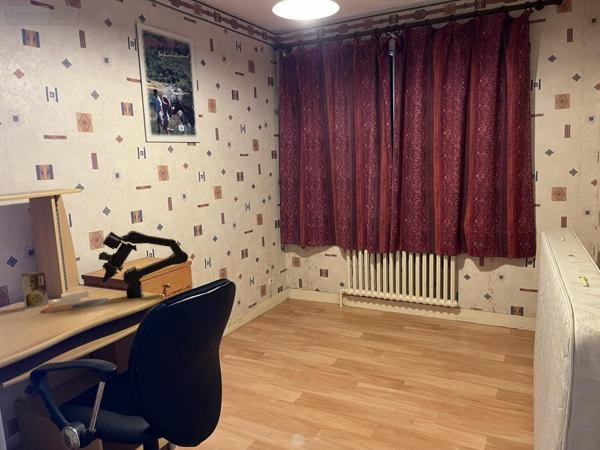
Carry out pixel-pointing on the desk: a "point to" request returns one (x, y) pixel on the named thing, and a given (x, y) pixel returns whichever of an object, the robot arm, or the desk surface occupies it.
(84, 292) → the domino
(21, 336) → the desk surface
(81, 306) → the mat
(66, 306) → the domino
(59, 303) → the domino
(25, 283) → the coffee box
